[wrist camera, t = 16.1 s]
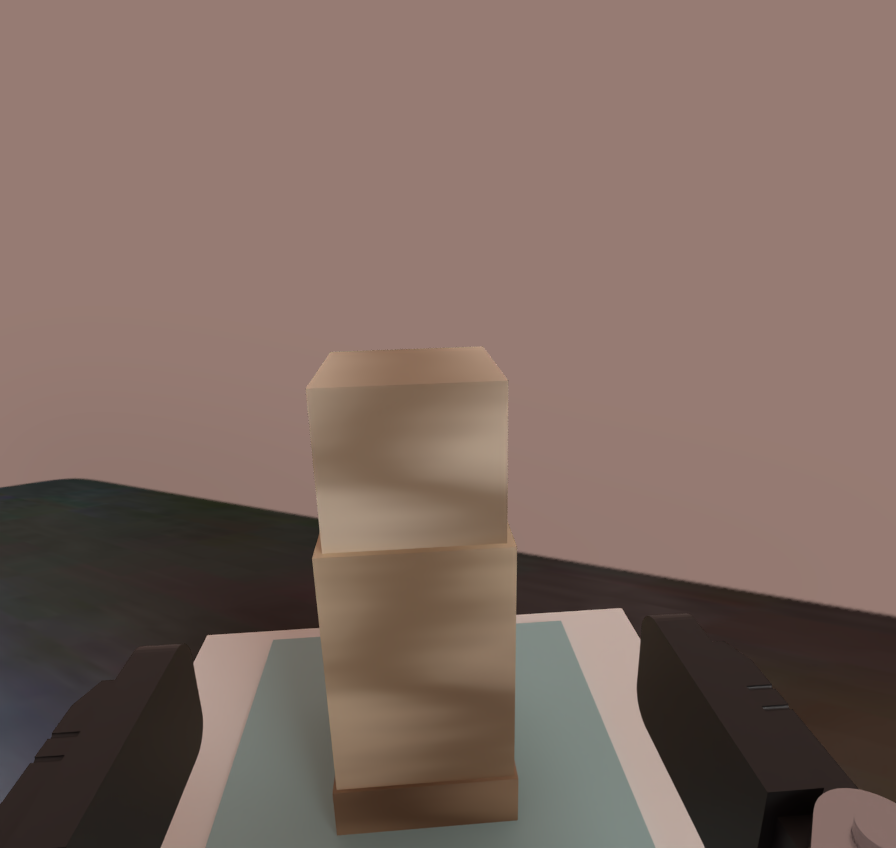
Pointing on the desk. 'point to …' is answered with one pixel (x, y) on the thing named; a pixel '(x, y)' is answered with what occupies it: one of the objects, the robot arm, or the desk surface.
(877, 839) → the robot arm
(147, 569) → the desk surface
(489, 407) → the wooden block tower
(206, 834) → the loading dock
